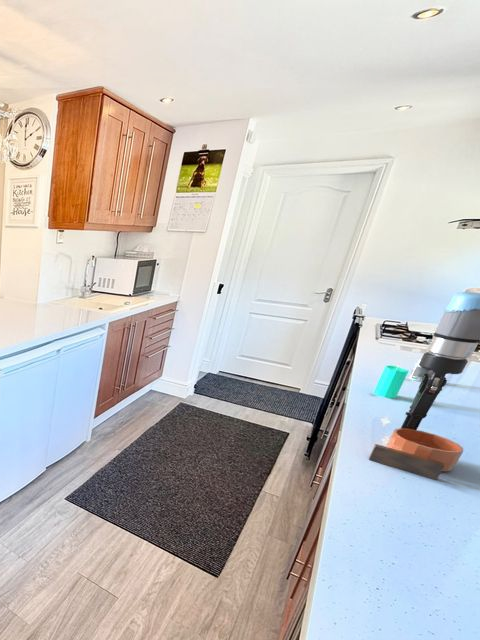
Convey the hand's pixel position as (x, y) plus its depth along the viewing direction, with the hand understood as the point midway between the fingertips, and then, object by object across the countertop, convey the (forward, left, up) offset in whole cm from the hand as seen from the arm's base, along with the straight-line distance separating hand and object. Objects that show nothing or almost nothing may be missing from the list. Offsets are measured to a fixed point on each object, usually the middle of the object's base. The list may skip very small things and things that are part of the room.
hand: (404, 436), depth 110 cm
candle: (+14, -50, -3) cm, 52 cm away
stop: (-3, +15, -3) cm, 16 cm away
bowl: (-4, +6, -3) cm, 8 cm away
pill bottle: (+12, -87, -3) cm, 87 cm away
